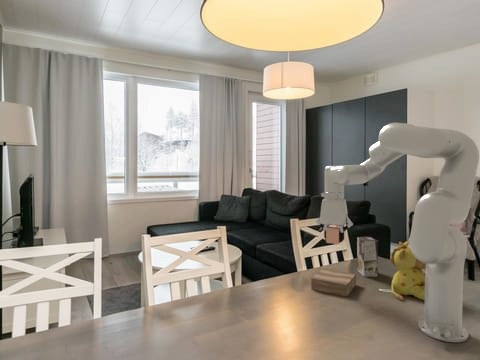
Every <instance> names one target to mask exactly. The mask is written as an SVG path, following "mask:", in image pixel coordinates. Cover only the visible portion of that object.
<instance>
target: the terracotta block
mask: <svg viewBox="0 0 480 360" xmlns="http://www.w3.org/2000/svg"><path fill="white" fill-rule="evenodd" d="M339 233H340V228H339V226H337V225H329V227H327V228H326V241H325V243H326V244H334V245H340V244H341V243H342V242H339Z"/></svg>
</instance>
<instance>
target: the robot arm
mask: <svg viewBox="0 0 480 360" xmlns="http://www.w3.org/2000/svg"><path fill="white" fill-rule="evenodd" d="M377 138H378V141H376V142H374V143H373V144H372V145H371V146H370V147H369V148H368V154H369V158H368V159H367V160H365V161H364V162H362V163H360V164H345V165H327V166H325V168H324V192H321V193H320V195H321V197H323V199H322V200H321V201H322V202H321V206H320V215H319V217H318V218H317V219H316V223H317V225H319V226H320V227H321V229H323V235H324V236H323V238H324V239H325V242H326V228H327V227H329V226H338V227H339V228H340V233H339V242H341V243H342V242H343V241H344V240H345V231H347V230H348V229H350V227H352V226H353V225H354V223H353V222H352V221H351V219H350V218H349V216H348V215H349V214H348V207H347V201H346V199H345V186H351V185H361V184H365V183H367V182H369V181H372V180H373V179H374V178H377V177H378V176H380V174H382V173H383V172H384V170H385V169H386V167H387V166H388V165H389V164H392V163H393V162H394V161H396V160H397V159H400V158H401V157H402V156H404V155H409V156H413V157H417V158H423V159H443V160H444V164H443V166H442V168H441V169H440V172H439V177H438V182H437V187H436V190H435V191H431V192H429V193H426V194H424V195H422V196H421V197H420V198H419V199H418V201H417V202H416V205H415V209H414V213H413V218H412V224H411V230H410V236H409V246H410V249H411V252H412V254H413V256H414V257H415V258H416V259H417V260H419V261H420V262H422V263H426V268H425V269H424V273H425V300H424V310H423V311H424V315H423V316H424V317H423V318H421V319H420V320H419V321H418V325H417V326H418V328H419V330H420V332H422V333H424V334H425V335H427V336H428V337H430V338H433V339H436V340H439V341H442V342H448V343H463V342H466V341H467V340H468V339H469V332H468V330H467V329H466V328H465V327H464V326H463V300H464V299H463V296H464V295H463V294H464V270H465V261H466V257H467V250H468V243H467V239H466V237H465V235H464V234H463V232H462V231H461V230H460V229H458V228H456V227H454V226H451V225H453V224H454V225H455V224H458V223H460V222H463V221H464V220H465V219H466V218H468V215H469V212H470V209H471V203H472V197H473V193H474V187H475V181H476V175H477V171H478V168H479V160H480V153H479V149H478V146H477V144H476V143H475V141H474V140H473V139H472V138H471V137H470V136H468V135H467V134H465V133H463V132H461V131H459V130H455V129H450V128H437V127H435V128H434V127H426V126H418V125H417V126H416V125H414V124H411V123H406V122H405V123H404V122H391V123H388V124H386V125H384V126H383V127H382V128H381V129H380V131H379V133H378V137H377ZM346 224H347V225H346Z"/></svg>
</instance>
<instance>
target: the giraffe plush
mask: <svg viewBox="0 0 480 360" xmlns="http://www.w3.org/2000/svg"><path fill="white" fill-rule="evenodd" d="M389 262H390V264H392V265H393V266H394V267H397V271H396V272H395V273H394V275H393V277H392V280H391V289H383V288H378V291H380V292H385V293H393V294H394V296H395V298H396V299H398V300H399V301H404V299H405V298H404V296H408V295H409V296H410V295H411V296H414V298H417V299H419V300H422V301H425V272H424V271H423V270H425V269H426V263H422V262H420V261H419V260H417V259H416V258H415V257H414V256H413V254H412V252H411V249H410V241H405V242H402V241H399V242H398V246H397V247H396V248H395V247H394V248H393V250H392V251H391V254H390V259H389Z"/></svg>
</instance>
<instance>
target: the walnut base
mask: <svg viewBox="0 0 480 360" xmlns="http://www.w3.org/2000/svg"><path fill="white" fill-rule="evenodd" d="M310 280H311V282H310V283H311V285H310V289H311V290H313V289H314V291H318V290H319V292H322V291H323V293H327V294H332V295H337V296H342V297H348V296H349V295H350V294H351V292H352V290H353V289H354V287H356V285H357V283H356V282H357V273H351V272H345V271H341V270H340V271H339V270H333V269H328V268H322V269H321V270H319V271H318V272H317V273H315V274H314V275H313V276H312V277H311V279H310Z"/></svg>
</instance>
